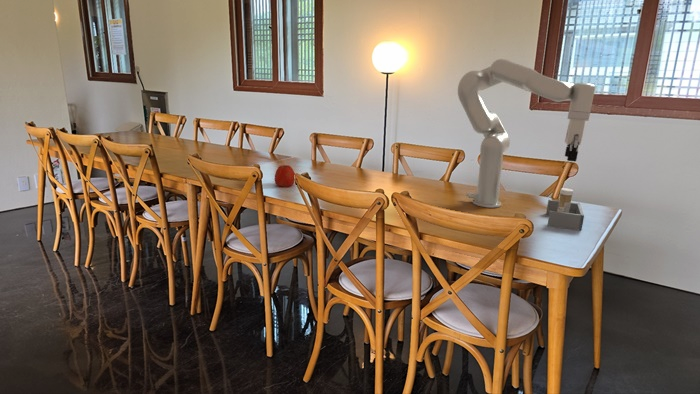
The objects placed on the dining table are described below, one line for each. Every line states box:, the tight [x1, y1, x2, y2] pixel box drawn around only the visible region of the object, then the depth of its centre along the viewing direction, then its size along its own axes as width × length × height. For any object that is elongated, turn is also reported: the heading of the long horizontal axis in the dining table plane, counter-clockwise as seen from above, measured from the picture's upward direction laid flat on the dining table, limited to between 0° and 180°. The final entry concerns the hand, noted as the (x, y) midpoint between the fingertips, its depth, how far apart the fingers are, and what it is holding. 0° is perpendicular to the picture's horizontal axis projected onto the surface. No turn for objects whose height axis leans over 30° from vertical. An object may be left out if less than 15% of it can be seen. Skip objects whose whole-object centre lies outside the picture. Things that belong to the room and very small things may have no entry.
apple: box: [274, 164, 296, 188], centre depth 220 cm, size 10×10×10 cm
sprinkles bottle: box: [557, 187, 574, 213], centre depth 178 cm, size 5×5×13 cm
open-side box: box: [545, 199, 585, 231], centre depth 179 cm, size 12×18×6 cm, turn 158°
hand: (570, 158), depth 178 cm, fingers open, 9 cm apart
